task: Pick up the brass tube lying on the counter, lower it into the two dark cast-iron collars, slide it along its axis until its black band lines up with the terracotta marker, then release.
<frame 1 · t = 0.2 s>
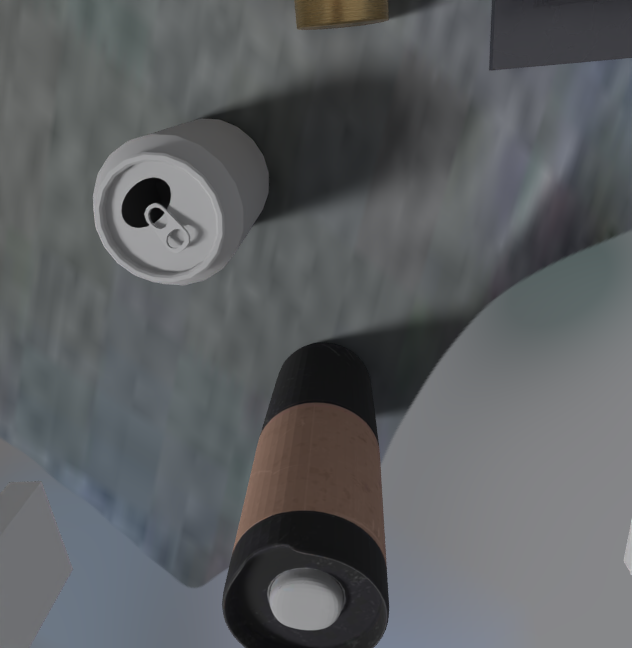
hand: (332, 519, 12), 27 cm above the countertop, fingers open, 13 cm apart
travel mug: (324, 382, 43), on the countertop
can: (215, 177, 37), on the countertop
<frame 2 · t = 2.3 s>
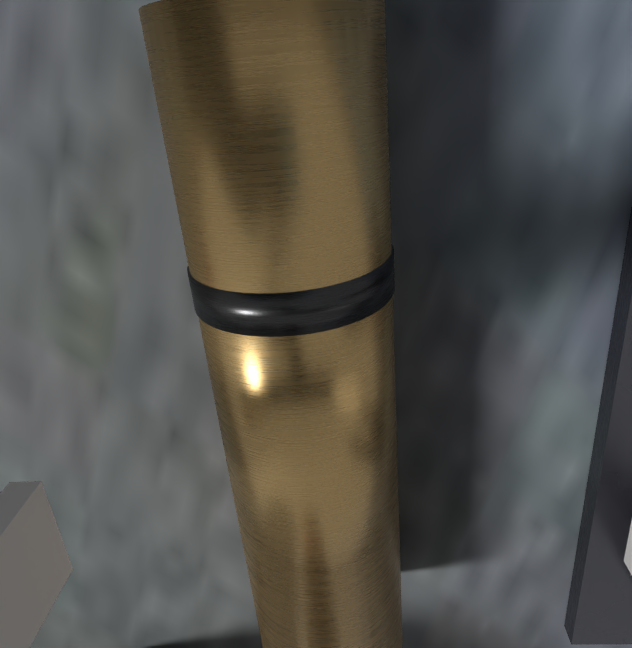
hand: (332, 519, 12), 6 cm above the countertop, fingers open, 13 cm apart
tube: (335, 362, 18), on the countertop, tilted 18°
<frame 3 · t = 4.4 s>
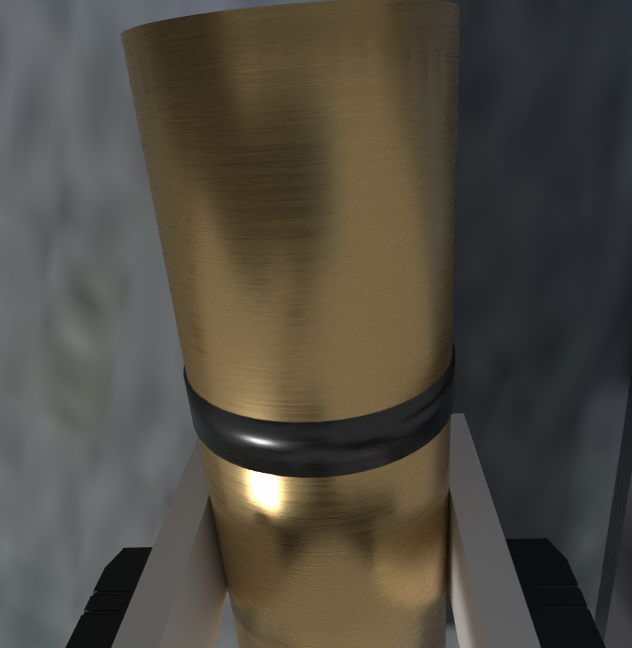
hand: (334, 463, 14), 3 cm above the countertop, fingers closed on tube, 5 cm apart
tube: (367, 461, 15), point 3 cm above the countertop, tilted 19°, touching gripper
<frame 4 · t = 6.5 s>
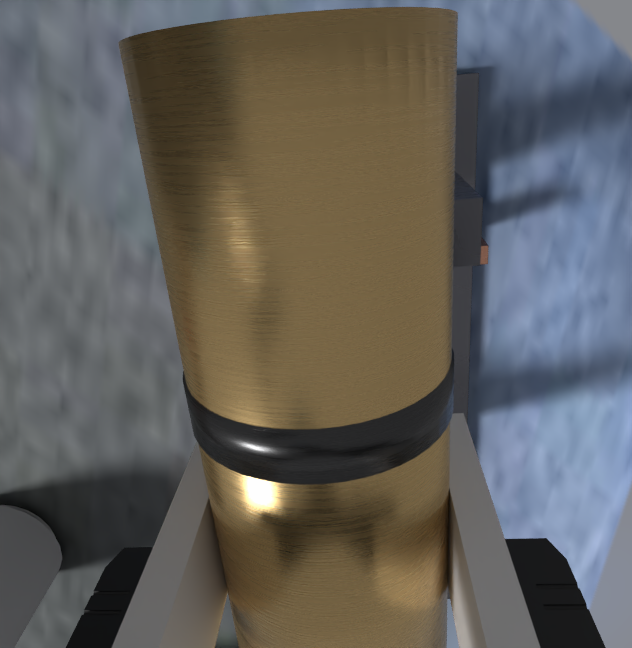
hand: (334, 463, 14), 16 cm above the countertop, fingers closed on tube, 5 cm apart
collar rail: (345, 306, 30), on the countertop
can: (16, 535, 39), on the countertop
tube: (367, 465, 15), point 16 cm above the countertop, tilted 20°, touching gripper
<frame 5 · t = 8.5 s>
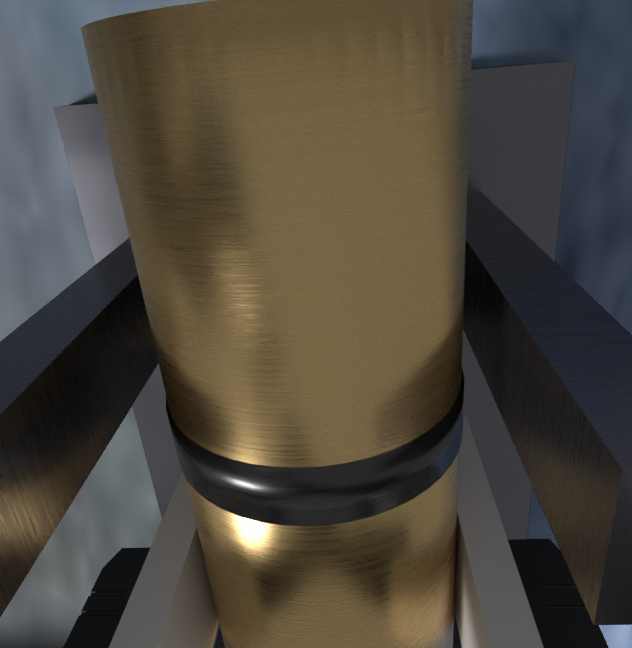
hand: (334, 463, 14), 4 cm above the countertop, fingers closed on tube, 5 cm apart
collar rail: (335, 430, 19), on the countertop
tube: (363, 480, 14), point 5 cm above the countertop, tilted 17°, touching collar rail, gripper
when the fingers open (3 cm above the countertop, at t = 9.8 s): tube stays where it is, resting on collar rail.
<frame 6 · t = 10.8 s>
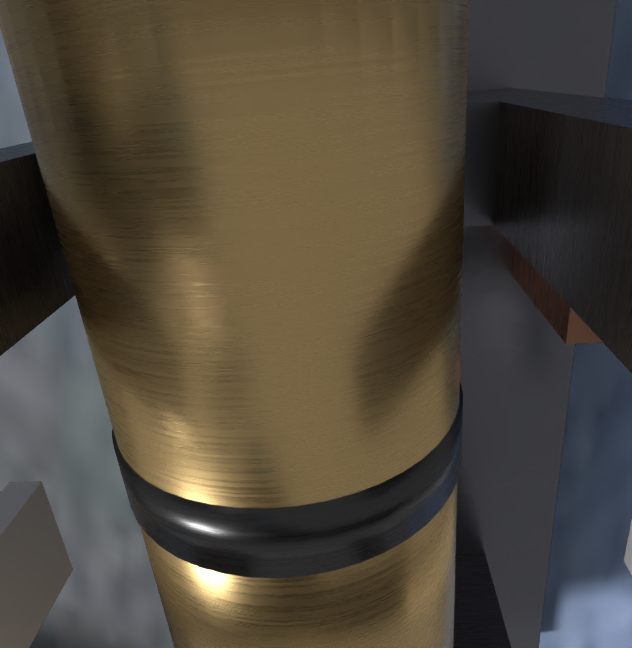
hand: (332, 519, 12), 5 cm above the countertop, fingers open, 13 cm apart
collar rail: (336, 387, 17), on the countertop
tube: (361, 509, 12), point 5 cm above the countertop, tilted 22°, touching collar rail
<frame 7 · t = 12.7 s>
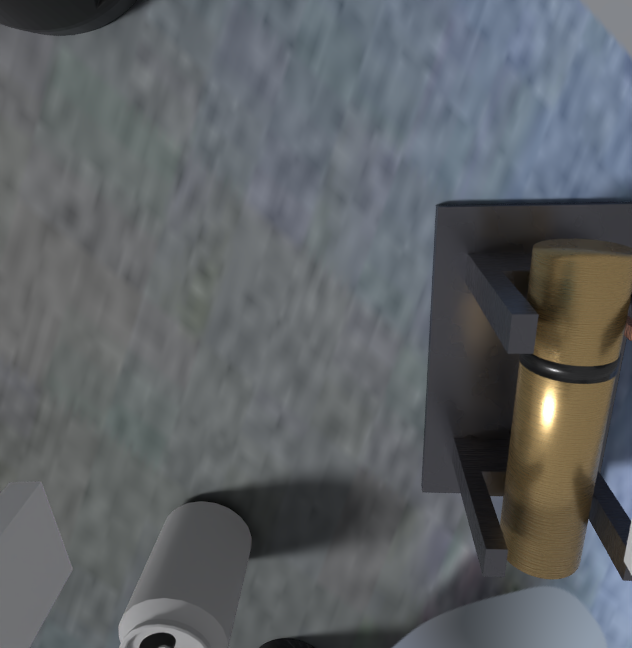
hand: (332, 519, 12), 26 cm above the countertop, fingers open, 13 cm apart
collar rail: (521, 360, 39), on the countertop
can: (210, 528, 47), on the countertop
tube: (553, 395, 35), point 5 cm above the countertop, tilted 11°, touching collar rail
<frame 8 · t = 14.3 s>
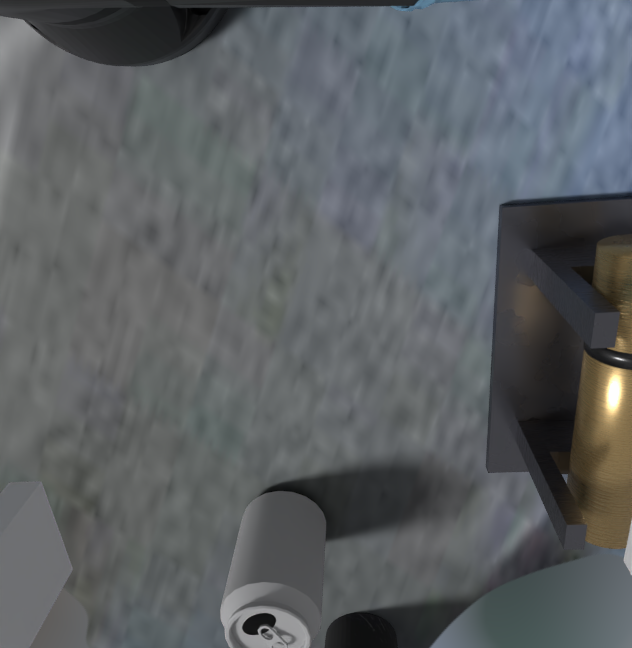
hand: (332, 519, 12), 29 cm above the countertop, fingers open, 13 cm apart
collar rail: (580, 345, 42), on the countertop
travel mug: (360, 635, 56), on the countertop
can: (285, 515, 50), on the countertop
tube: (618, 380, 37), point 5 cm above the countertop, tilted 19°, touching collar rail
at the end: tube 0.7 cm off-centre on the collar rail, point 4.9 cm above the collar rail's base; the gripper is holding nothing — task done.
